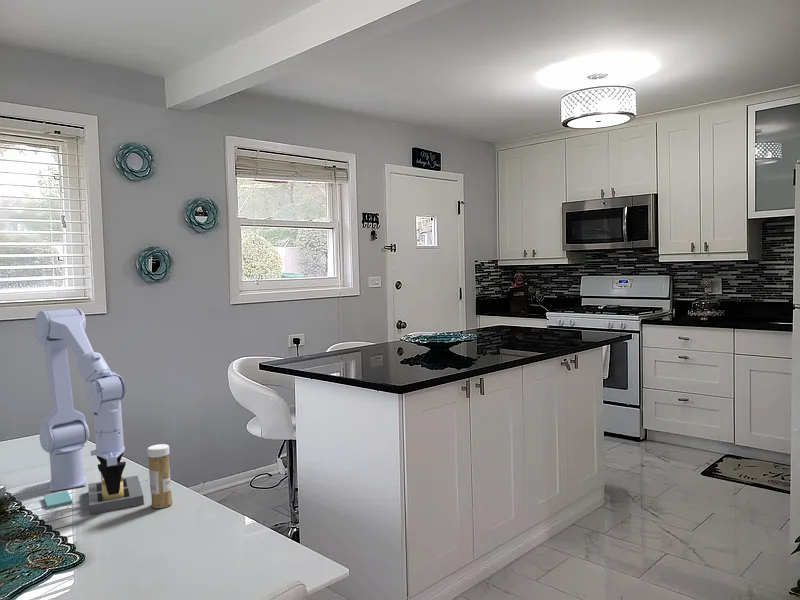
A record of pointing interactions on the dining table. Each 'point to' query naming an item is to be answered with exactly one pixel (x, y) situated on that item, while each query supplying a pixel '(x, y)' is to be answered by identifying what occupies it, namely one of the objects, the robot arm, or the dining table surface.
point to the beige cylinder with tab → (115, 496)
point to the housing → (130, 490)
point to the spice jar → (159, 475)
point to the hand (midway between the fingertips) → (112, 488)
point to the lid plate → (57, 500)
